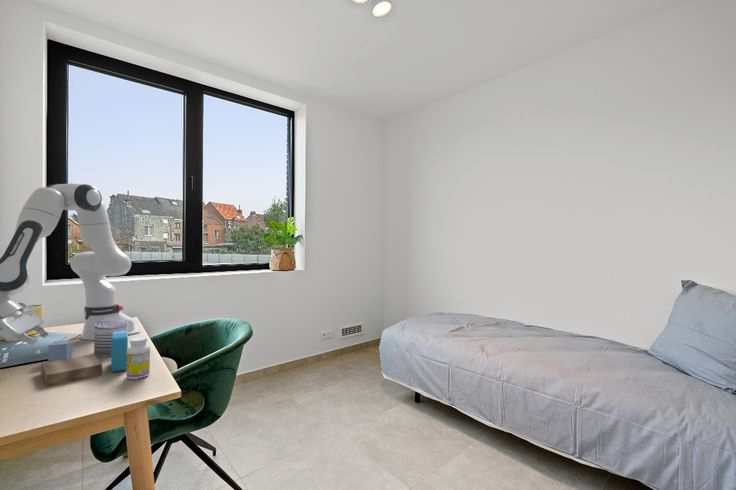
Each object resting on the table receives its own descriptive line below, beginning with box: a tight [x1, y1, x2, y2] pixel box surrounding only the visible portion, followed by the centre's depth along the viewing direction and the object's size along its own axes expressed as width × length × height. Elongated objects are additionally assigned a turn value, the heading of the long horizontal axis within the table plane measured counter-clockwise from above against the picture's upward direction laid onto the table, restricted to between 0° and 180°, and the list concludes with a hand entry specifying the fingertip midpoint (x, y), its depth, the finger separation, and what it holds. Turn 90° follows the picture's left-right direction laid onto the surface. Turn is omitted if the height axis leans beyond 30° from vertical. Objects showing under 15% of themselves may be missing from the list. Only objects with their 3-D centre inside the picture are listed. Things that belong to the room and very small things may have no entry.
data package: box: [110, 330, 129, 373], centre depth 127 cm, size 12×4×12 cm, turn 34°
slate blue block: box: [47, 339, 73, 362], centre depth 129 cm, size 5×5×8 cm
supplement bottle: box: [125, 336, 151, 380], centre depth 119 cm, size 7×7×13 cm
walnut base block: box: [40, 353, 103, 387], centre depth 119 cm, size 14×14×4 cm
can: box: [93, 320, 129, 357], centre depth 142 cm, size 11×11×12 cm
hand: (40, 339), depth 127 cm, fingers open, 8 cm apart
